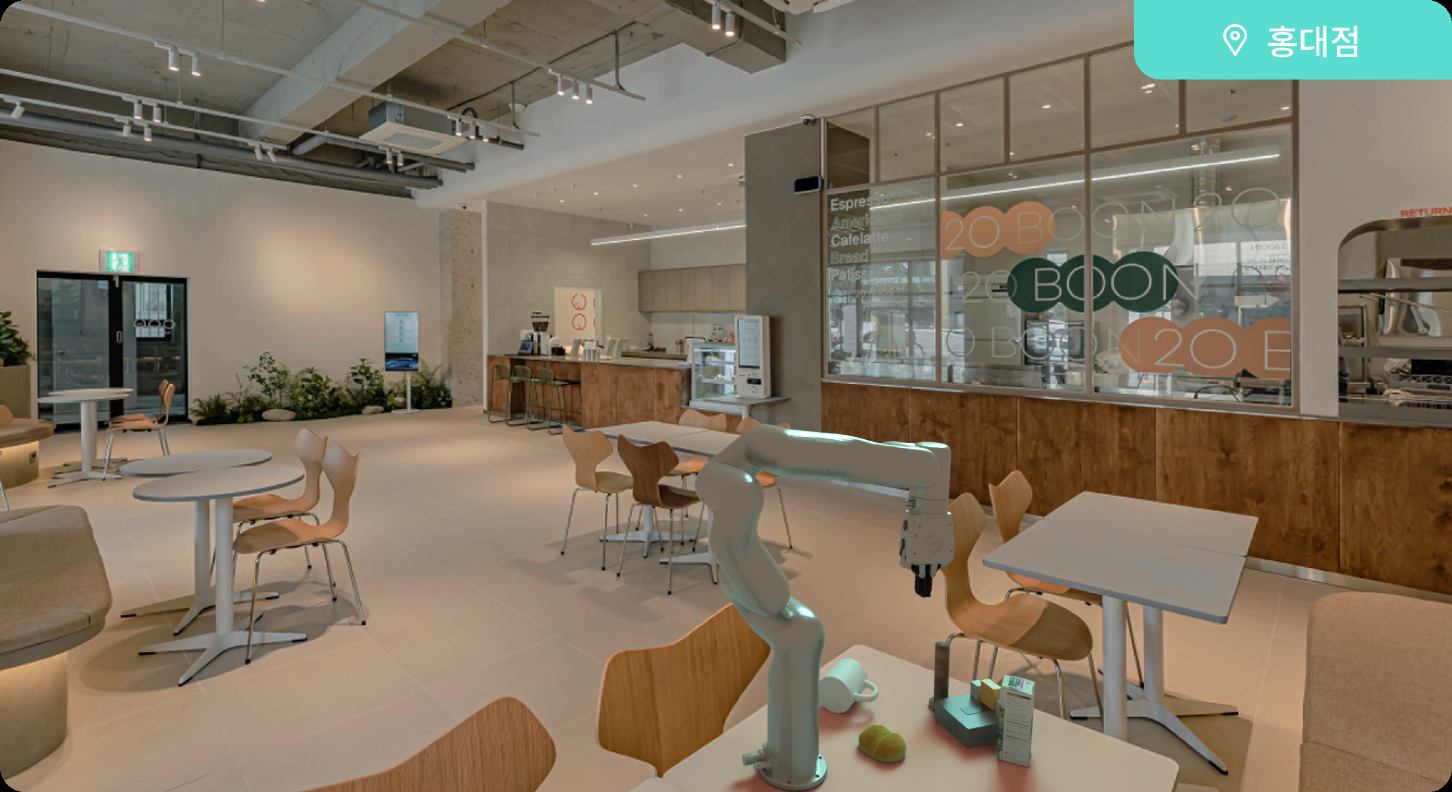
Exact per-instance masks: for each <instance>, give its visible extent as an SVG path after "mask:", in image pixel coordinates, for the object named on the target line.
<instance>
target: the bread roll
mask: <svg viewBox="0 0 1452 792" xmlns="http://www.w3.org/2000/svg"><path fill="white" fill-rule="evenodd" d="M858 745H859V747H860V749H861V750H862V752H863V753H864V754H866V755H868V756H870V757H872V758H873V759H874V760H875V761H878V762H880V763H884V764H885V763H895V762H900V761H902V760H903V759H904V758H905V756H906V751H907V744H906V742H905V740H904V737H902V735H900V734H898V733H897V732H891V730H890V729H888V728H887V727H886V726H884V725H881V724H872V725H869V726H867V727H866V728H865V729H864V730H863V731H861V733H860V734H859V735H858Z"/></svg>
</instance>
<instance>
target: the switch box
mask: <svg viewBox="0 0 1452 792" xmlns="http://www.w3.org/2000/svg"><path fill="white" fill-rule="evenodd" d="M969 690H970V692H969V693H965V694H961V695H956V696H955V695H954V696H951V697H950V696H948V698H944V699H939V700H935V711H934V714H933V715H934V717H933V719H934V720H935V721H937V723H939V724H940V725H941V726H942V727H943V728H945V730H947V732H949V733H950V734H951V735H952V736H953V737H954V738H956V740H958V741H959V742H960V743H961V744H962V745H963V746H964V747H965V748H966V749H971V748H976V747H982V746H986V745H990V744H996V743H997V742H998V724H999V707H1000V700H996V710H994V711H993V710H991V709H990V708H989V707H988V706H986V705H985V704H984V703H982V702H981V701H980V690H981V679H980V680H979V679H976V680H971V681H970V689H969Z"/></svg>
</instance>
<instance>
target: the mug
mask: <svg viewBox="0 0 1452 792" xmlns="http://www.w3.org/2000/svg"><path fill="white" fill-rule="evenodd" d="M865 689H869V690H872V691H873V693H870V694H862V693H863V692H864V691H865ZM878 696H879V689H878V687H877V685H876V684H875V683H873V682H872V681H869V680H868V675H867V672H866V670H865V668H864V666H863V665H862V664H861V663H859V662H858V661H857V660H855V659H852V658H842V659H840V660H838V661H837V662H836V663H835V664H834V665H833V666H832V667H831V668H830V669H829V670H828V672H826V674H824V676H823V677H822V678H821V679H819V703H820V704H821V705H822V706H823V707H824V708H825V709H826V710H827V711H829V712H831V713H834V714H844V713H846V712H847V711H848V710H850V708H851V706H852V705H854V703H855V702H859V703H872V702H873V701H876V700H877V698H878Z"/></svg>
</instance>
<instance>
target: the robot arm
mask: <svg viewBox="0 0 1452 792" xmlns="http://www.w3.org/2000/svg"><path fill="white" fill-rule="evenodd" d="M951 462H952V450H951V448H950V446H948V445H947V444H945V443H941V442H934V441H921V442H920V441H919V442H916V443H912V442H910V443H908V442H902V441H895V440H894V441H892V440H891V441H890V440H889V441H884V442H881V443H879V442H876V441H875V442H874V441H871V440H866V439H864V438H859V437H856V436H851V435H846V434H840V433H831V432H817V431H808V430H800V429H793V428H791V429H790V428H785V427H781V426H776V425H774V424H768V423H761V424H757V425H756V426H755V425H754V427H752V428H750V429H748V430H747V431H745V432H744V433H743V434H741V435H740V436H739V437H737V438H736V439H734V440H733V441H732V442H731V443H730V444H728V445H727V446H726V447H725V448H723V449H722V450H721V451H720V452H718V453H717V454H716V455H715V456H713V457H712V458H710V459H709V460H708V461H707V462H706V463H705V464H704V465H703V466H702V467H701V469H700V470H699V471H698V473H697V475H696V478H695V482H694V491H695V493H696V495H697V498H698V500H699V501H701V503H702V504H704V505H705V506H707V507H708V508H710V509H711V510H713V511H715V512H714V515H713V519H712V522H711V526H710V530H709V548H710V551H711V554H712V556H713V558H714V560H715V561H716V563H717V565H718V566H719V569H718V579H719V583H720V586H721V588H722V590H723V591H724V593H725V595H726V596H727V597H728V599H729V600H730V602H731V604H732V605H733V606H734V607H735V608H736V610H737V611H738V612H739V614H740V615H741V617H742V618H743V620H745V622H746V623H747V625H749V627H750V628H751V629H752V630H753V631H754V632H755V634H756V635H758V636H759V637H761V639H762V640H763V641H765V642H766V643H767V644H768V645H769V646H770V647H771V649H772V652H773V654H772V660H771V661H770V665H768V666H769V667H768V670H767V680H766V681H767V683H766V684H767V687H766V688H767V713H766V714H767V715H766V716H767V725H766V729H767V731H766V732H767V738H766V739H767V740H766V741H764V742H762V743H761V746H762V747H761V748H759V749H757V751H755V752H749V753H743V754H741V761H742V764H743V767H747V766H752V768H753V771H754V772H759V773H760V775H761V777H762V778H763V779H764V781H766V782H767V783H769V784H771V786H774V787H776V788H778V789H782V790H787V791H797V792H798V791H805V790H809V789H813V788H815V787H817V786H819V785H820V784H821V783H822V782H823V781H824V780H825V779H826V777H827V775H828V774H827V773H828V764H827V761H826V759H825V757H824V756H823V755H822V754H821V753H820V700H819V681H820V680H821V679H820V676H821V675H820V673H821V661H822V656H823V653H824V648H825V642H826V631H825V627H824V624H823V622H822V620H821V618H820V617H819V616H818V615H817V614H816V612H814V611H813V610H812V609H811V608H810V607H808V606H807V605H805V604H804V603H802V602H801V601H799V600H797V599H796V598H795V597H793V596H792V595H791V587H790V583H789V580H788V577H787V576H786V574H785V572H784V571H783V569H782V568H781V567H780V566H779V564H778V563H777V562H776V560H775V559H774V558H773V556H772V555H771V553H770V551H769V550H768V549H767V547H766V546H765V544H764V543H763V541H762V539H761V538H760V535H759V532H758V524H759V520H760V518H761V515H762V511H763V510H764V509H763V508H764V505H765V491H764V487H763V485H762V484H761V482H760V481H759V479H758V478H757V476H758V475H760V474H761V473H762V472H763V471H764V472H767V473H768V474H772V475H773V476H774V475H775V476H777V477H782V478H783V477H785V478H798V479H813V480H815V479H816V480H824V481H825V480H827V481H836V482H837V481H839V482H844V483H850V484H851V483H852V484H863V485H871V486H872V485H873V486H881V487H888V488H896V489H897V488H898V489H899V488H900V489H908V498H907V499H904V500H903V503H902V504H903V506H904V507H906V508H908V509H906V510H905V512H904V516H903V518H902V523H901V528H900V534H899V535H900V536H899V545H898V553H899V554H898V556H899V557H900V560H899V562H898V563H899V566H900V567H901V568H903V569H906V570H911V572H912V573H913V574H914V593H915V594H916V595H918V596H920V597H921V598H923V599H925V598H931V596H932V590H933V578H935V577H936V575H937V573H938V571H939V570H940V569H941V568H944V567H947V566H949V565H950V563H951V562H952V561H953V559H954V556H955V533H954V532H955V531H954V530H955V529H954V522H953V516H952V513H951V512H950V511H949V499H950V498H949V496H950V483H951V482H950V481H951V479H950V478H951V476H950V475H951V467H952V466H951Z"/></svg>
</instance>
